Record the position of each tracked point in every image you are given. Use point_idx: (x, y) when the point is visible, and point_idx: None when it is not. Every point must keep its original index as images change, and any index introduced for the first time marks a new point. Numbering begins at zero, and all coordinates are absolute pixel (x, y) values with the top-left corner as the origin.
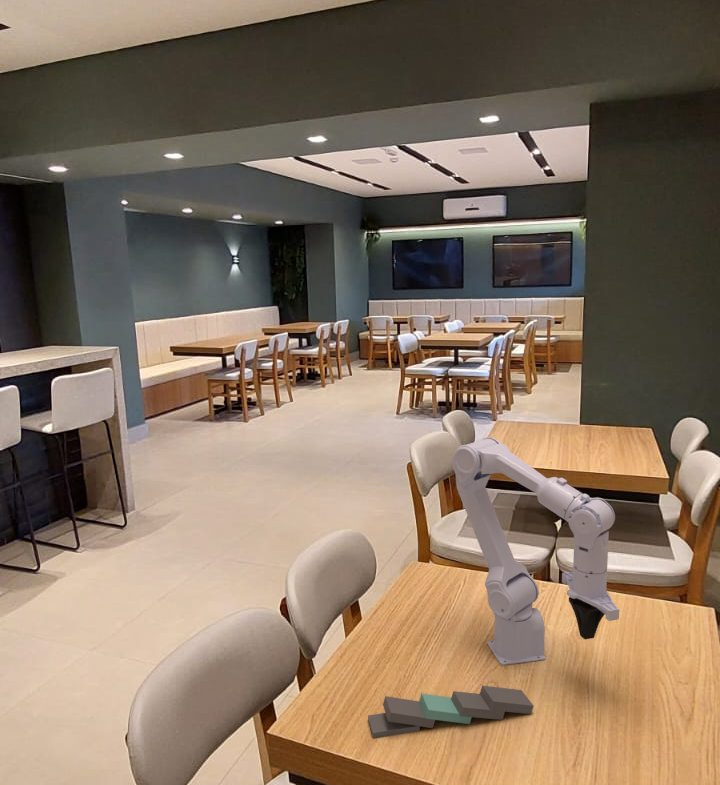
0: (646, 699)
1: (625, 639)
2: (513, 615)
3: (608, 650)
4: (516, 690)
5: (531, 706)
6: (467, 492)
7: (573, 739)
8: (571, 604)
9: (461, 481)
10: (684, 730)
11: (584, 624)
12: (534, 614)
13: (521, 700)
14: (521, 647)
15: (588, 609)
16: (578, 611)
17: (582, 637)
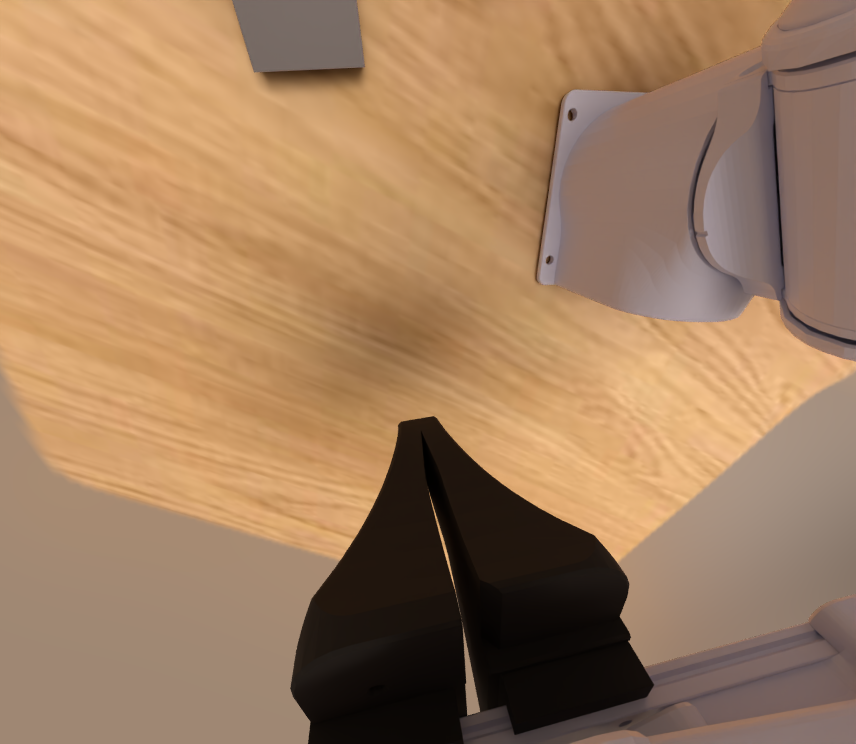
0: (334, 455)
1: (541, 491)
2: (769, 60)
3: (519, 449)
4: (351, 24)
5: (250, 58)
6: None
7: (134, 186)
8: (546, 529)
9: None
10: (222, 483)
11: (382, 489)
12: (702, 285)
13: (265, 1)
14: (588, 188)
15: (297, 695)
16: (432, 542)
17: (414, 420)
